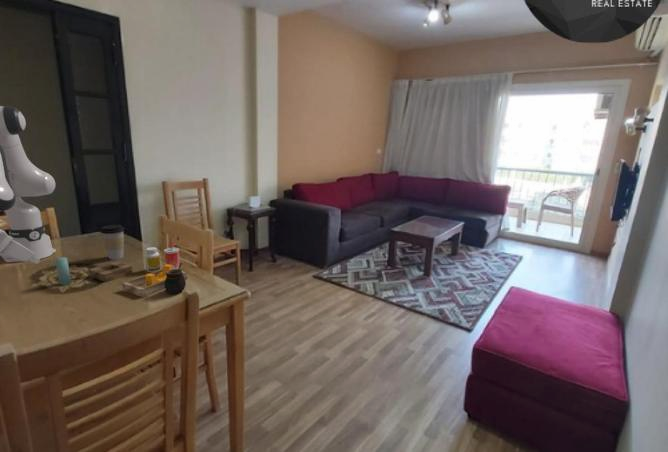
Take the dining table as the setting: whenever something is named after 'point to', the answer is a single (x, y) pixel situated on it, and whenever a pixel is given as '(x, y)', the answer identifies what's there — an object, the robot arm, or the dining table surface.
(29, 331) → the dining table surface
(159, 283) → the clamp corral
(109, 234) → the coffee cup
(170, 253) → the beverage cup
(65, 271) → the peg
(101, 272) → the socket block
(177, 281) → the mate gourd
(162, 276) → the pipe clamp
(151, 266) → the supplement bottle
